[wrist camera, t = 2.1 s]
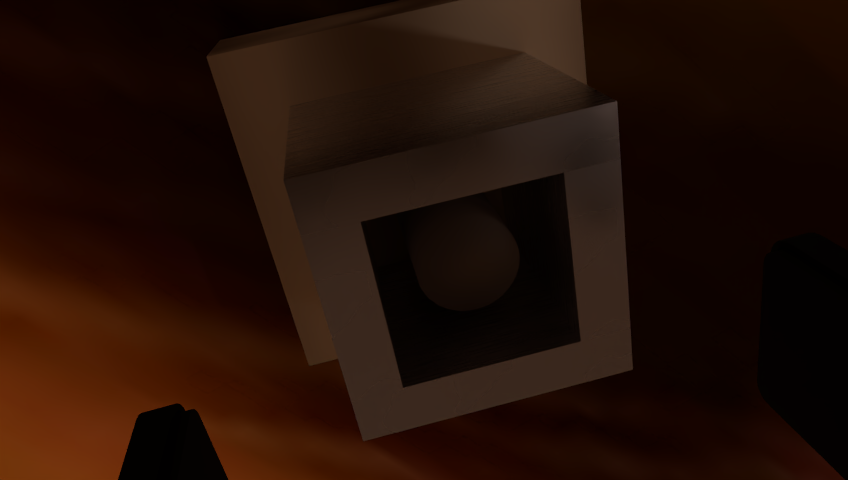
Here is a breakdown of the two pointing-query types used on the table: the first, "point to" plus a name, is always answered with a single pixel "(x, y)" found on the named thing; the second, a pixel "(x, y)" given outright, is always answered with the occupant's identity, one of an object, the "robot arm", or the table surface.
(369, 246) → the hollow square tube
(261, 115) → the peg stand
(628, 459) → the table surface
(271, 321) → the table surface
